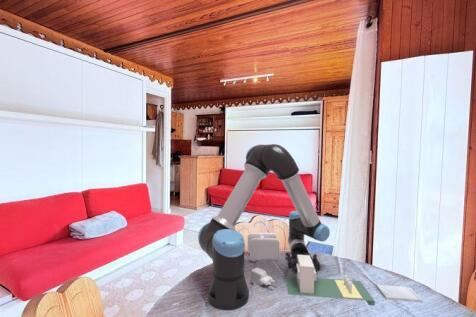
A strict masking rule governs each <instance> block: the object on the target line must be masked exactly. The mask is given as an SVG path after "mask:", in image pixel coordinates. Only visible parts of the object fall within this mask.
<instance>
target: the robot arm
mask: <svg viewBox="0 0 476 317" xmlns="http://www.w3.org/2000/svg"><path fill="white" fill-rule="evenodd" d="M243 167H244V171H243V172H242V174H241V175H240V177H239V179H238V181H237V182H236V184H235V186H234V188H233V189H232V190H231V193H230V194H229V196H228V198H227V200H226V201H225V203H224V204H223V206H222V208H221V209H220V211H219V213H218V215H216V216H213V217H212V218H211V219H210V221H209V222H208V223H205V224H204V225H203V226H202V227H201V228H200V230H199V231H198V235H197V239H198V240H197V241H198V244H199V246H200V248H201V250H203V252H205V254H207V256H208V257H209V258H210V259H211V260H212V277H211V280H210V283H209V287H208V290H207V299H208V302H209V304H211V306H213V307H215V308H217V309H220V310H225V311H226V310H227V311H228V310H229V311H230V310H235V309H239V308H241V307H243V306H245V305H246V304H247V302H248V301H249V299H250V298H249V296H250V290H249V286H248V284H247V281H246V277H245V250H246V245H245V238H244V236H243V234H242V233H241V232H239V231H237V230H236V224H237V222H238V221H239V219H240V217H241V216H242V214H243V212H244V210H245V208H246V207H247V204H248V203H249V201H250V200H251V198H252V197H253V195H254V193H255V191H256V190H257V187H258V186H259V185H260V182H261V180H263V179H266V178H267V177H268V175H269V173H270V172H271V171H272V173H274V174H275V175H276V178H277V179H278V180H279V181H281V182H282V184H283V186H284V188H285V191H286V192H287V194H288V196H289V198H290V200H291V202H292V204H293V207H294V208H295V210H293V211H292V210H291V211H290V212H289V216H288V217H289V218H288V227H289V228H288V231H289V232H288V238H287V241H288V244H289V249H290V253H289V252H285V260H286V261H287V268H288V269H289V270H291V269H292V271H293V273H296V277H297V276H298V279H300V274H301V272H300V269H299V265H298V264H297V255H310V258H311V260H312V263H313V265H314V280H316V278H317V275H318V271H320V270H321V263H320V261H319V259H318V258H317V256H318V255H317V254H313V255H312V254H310V253H309V250H308V248H307V245H306V243H305V236H307V237H309V238H311V239H314V240H316V241H319V242H322V243H323V242H326V241H327V240H328V238H329V236H330V232H331V230H330V228H329V227H328V226H327V225H325V223H322V221H321V220H320V218H319V216H318V213H317V211H316V209H315V207H314V205H313V203H312V201H311V198H310V196H309V194H308V192H307V189H306V187H305V185H304V184H303V183H304V182H303V181H302V179H301V176H300V174H299V173H300V172H299V171H300V169H299V166H298V164H297V163H296V161H295V159H294V158H293V156H292V155H291V152H289V151H288V150H287V149H286V148H285V147H283V146H282V145H280V144H278V143H277V144H276V143H271V144H256V145H253V146H252V147H250V148H249V149H248V150H247V152H246V154H245V163H244V165H243ZM292 259H293V261H292Z"/></svg>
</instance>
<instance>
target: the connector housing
mask: <svg viewBox="0 0 476 317" xmlns="http://www.w3.org/2000/svg"><path fill="white" fill-rule="evenodd" d="M310 255H311V254H310ZM310 255H297V264H298V265H299V269H300V272H301V274H300V279H298V276H297V275H296V277H297V281H298V286H299V290H300V293H312V294H314V265H313V263H312V259H311V258H310Z"/></svg>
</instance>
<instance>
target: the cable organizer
mask: <svg viewBox="0 0 476 317" xmlns="http://www.w3.org/2000/svg"><path fill="white" fill-rule="evenodd" d="M247 253H248V254H249V253H250V254H249V258H250V260H251V261H252V262H254V263H256V262H257V260H259V261H273V262H278V261H279V259H280V241H279V239H278V238H277V236H276V234H275V233H274V232H249V233H248V234H247Z"/></svg>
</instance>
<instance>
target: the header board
mask: <svg viewBox="0 0 476 317" xmlns="http://www.w3.org/2000/svg"><path fill="white" fill-rule="evenodd" d="M285 282H286V288H287V289H286V290H287V294H288V295H294V296H303V297H304V296H306V297H316V298H317V297H319V298H332V299H342V300H343V299H344V300H354V301H355V300H356V301H357V300H358V301H365V302H366V303H367V305H370V306H375V303H376V301H375V299H374V298H373V296H372V295H371V293H370V292H369V291H368V290H367V288H366V287H365V285H364V283H363V282H362V281H361V280H352V279H350V277H348V274H343V279H338V278H324V277H322V278H321V277H316V280H314V294H312V293H300V290H299V286H298V281H297V275H296V276H294V275H293V276H292V275H285Z"/></svg>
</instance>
